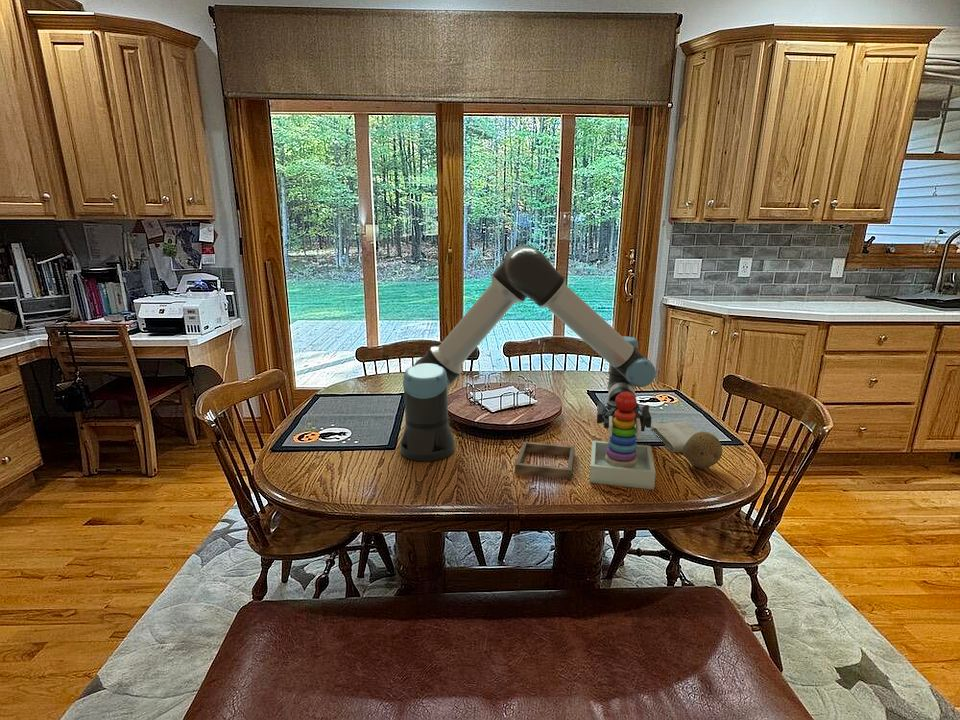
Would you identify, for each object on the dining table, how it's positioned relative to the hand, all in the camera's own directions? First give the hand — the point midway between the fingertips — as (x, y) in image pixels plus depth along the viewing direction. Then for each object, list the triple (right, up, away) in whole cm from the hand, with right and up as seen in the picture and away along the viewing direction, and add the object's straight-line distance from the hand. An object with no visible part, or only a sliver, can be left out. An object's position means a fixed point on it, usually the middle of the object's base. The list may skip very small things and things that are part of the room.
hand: (624, 432), depth 122 cm
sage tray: (+1, -11, +8) cm, 14 cm away
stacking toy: (+1, -9, +8) cm, 12 cm away
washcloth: (+23, -6, +27) cm, 37 cm away
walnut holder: (-17, -10, +13) cm, 24 cm away
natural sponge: (+22, -11, +9) cm, 26 cm away
